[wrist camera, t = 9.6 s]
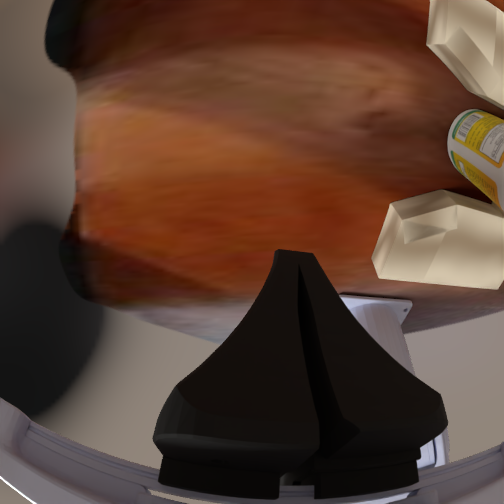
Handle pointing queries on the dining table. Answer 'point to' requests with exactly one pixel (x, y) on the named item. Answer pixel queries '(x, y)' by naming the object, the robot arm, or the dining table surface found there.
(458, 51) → the jig block
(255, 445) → the robot arm
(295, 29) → the dining table surface
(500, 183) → the supplement bottle
